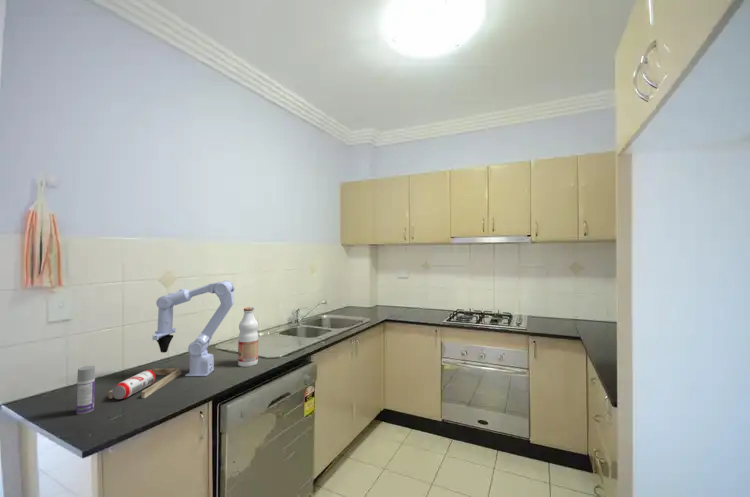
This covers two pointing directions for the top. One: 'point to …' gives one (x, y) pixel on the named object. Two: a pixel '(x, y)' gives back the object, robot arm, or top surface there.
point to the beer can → (133, 384)
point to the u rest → (171, 375)
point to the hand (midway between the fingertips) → (163, 352)
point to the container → (85, 389)
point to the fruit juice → (248, 339)
